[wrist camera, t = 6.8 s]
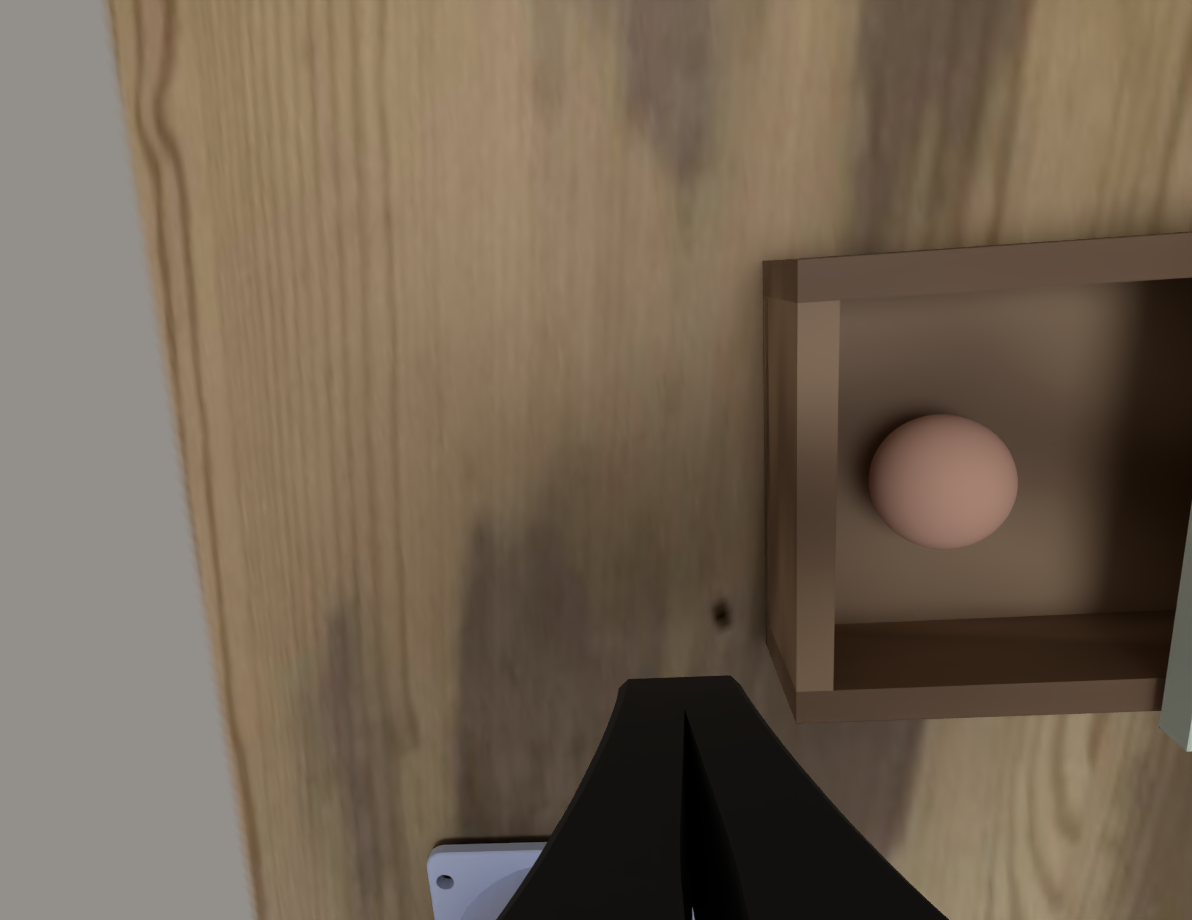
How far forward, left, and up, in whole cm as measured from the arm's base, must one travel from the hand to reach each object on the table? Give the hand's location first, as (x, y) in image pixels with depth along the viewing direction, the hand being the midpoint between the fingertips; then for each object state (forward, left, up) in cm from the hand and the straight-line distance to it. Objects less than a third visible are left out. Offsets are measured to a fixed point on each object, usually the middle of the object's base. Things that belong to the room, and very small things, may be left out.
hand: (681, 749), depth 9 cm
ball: (+1, -6, -10) cm, 12 cm away
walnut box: (+1, -9, -10) cm, 14 cm away
